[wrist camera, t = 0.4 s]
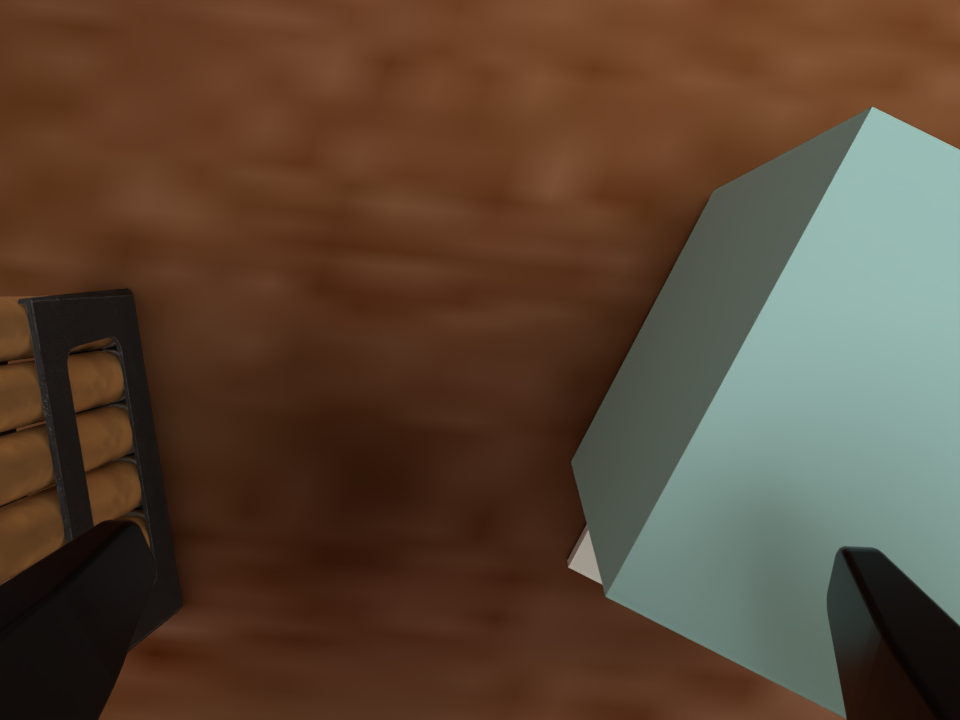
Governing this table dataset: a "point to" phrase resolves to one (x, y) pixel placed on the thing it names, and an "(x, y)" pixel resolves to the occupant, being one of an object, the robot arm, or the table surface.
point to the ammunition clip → (79, 435)
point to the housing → (790, 404)
